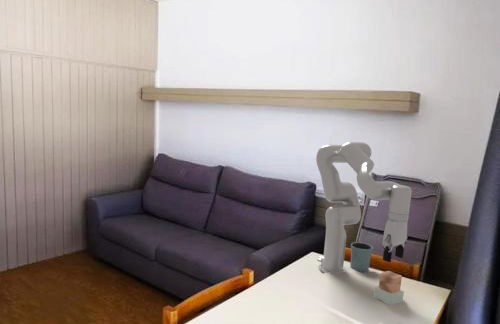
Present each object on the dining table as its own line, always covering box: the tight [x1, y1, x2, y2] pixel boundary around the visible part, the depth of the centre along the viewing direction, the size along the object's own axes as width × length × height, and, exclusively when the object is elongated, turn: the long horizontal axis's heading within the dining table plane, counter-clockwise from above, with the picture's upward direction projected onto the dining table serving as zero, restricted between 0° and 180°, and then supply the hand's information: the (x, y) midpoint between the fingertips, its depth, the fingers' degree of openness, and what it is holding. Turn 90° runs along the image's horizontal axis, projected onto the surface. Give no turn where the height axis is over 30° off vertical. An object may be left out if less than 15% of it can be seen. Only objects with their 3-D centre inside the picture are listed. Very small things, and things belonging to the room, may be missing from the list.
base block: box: [373, 285, 404, 306], centre depth 164 cm, size 8×8×4 cm
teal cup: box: [349, 241, 374, 274], centre depth 196 cm, size 10×10×12 cm
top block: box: [378, 270, 403, 293], centre depth 163 cm, size 6×6×6 cm
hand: (392, 258), depth 162 cm, fingers open, 8 cm apart
